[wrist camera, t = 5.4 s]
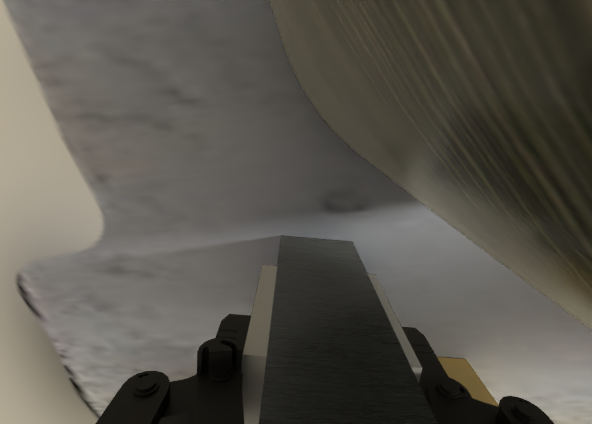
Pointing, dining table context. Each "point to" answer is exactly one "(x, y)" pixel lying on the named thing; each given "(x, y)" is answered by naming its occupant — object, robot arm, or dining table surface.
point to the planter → (467, 117)
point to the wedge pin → (334, 344)
